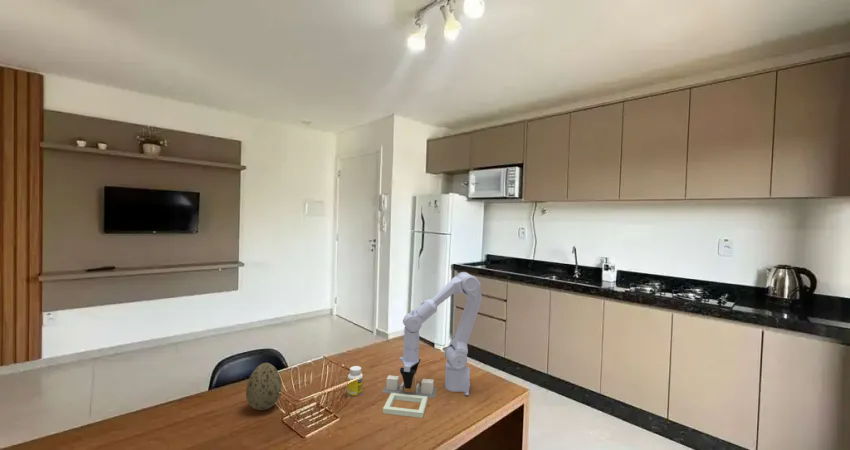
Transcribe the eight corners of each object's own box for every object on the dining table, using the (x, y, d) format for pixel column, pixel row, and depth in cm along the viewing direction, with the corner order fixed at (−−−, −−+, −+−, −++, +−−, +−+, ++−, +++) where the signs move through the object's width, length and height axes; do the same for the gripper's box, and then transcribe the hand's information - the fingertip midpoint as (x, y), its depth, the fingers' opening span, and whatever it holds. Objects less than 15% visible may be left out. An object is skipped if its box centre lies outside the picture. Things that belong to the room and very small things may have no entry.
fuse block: (436, 390, 139) (437, 377, 139) (434, 400, 131) (434, 386, 131) (387, 385, 142) (387, 372, 142) (381, 395, 134) (382, 381, 134)
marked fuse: (415, 388, 137) (416, 372, 137) (414, 392, 135) (415, 376, 134) (405, 387, 138) (405, 371, 138) (403, 391, 135) (404, 375, 135)
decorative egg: (285, 410, 121) (286, 365, 121) (249, 420, 115) (250, 372, 114) (276, 397, 130) (276, 354, 130) (242, 406, 123) (243, 361, 123)
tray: (427, 403, 129) (427, 396, 129) (422, 420, 118) (422, 413, 118) (390, 399, 131) (391, 392, 131) (382, 416, 120) (382, 408, 120)
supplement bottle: (359, 399, 130) (359, 372, 130) (344, 397, 131) (345, 370, 131) (364, 392, 135) (365, 366, 135) (350, 390, 136) (351, 364, 136)
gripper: (404, 339, 144) (403, 374, 144) (396, 352, 129) (394, 391, 130) (422, 340, 143) (421, 375, 143) (415, 354, 128) (414, 393, 129)
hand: (409, 383), depth 136 cm, fingers open, 7 cm apart
